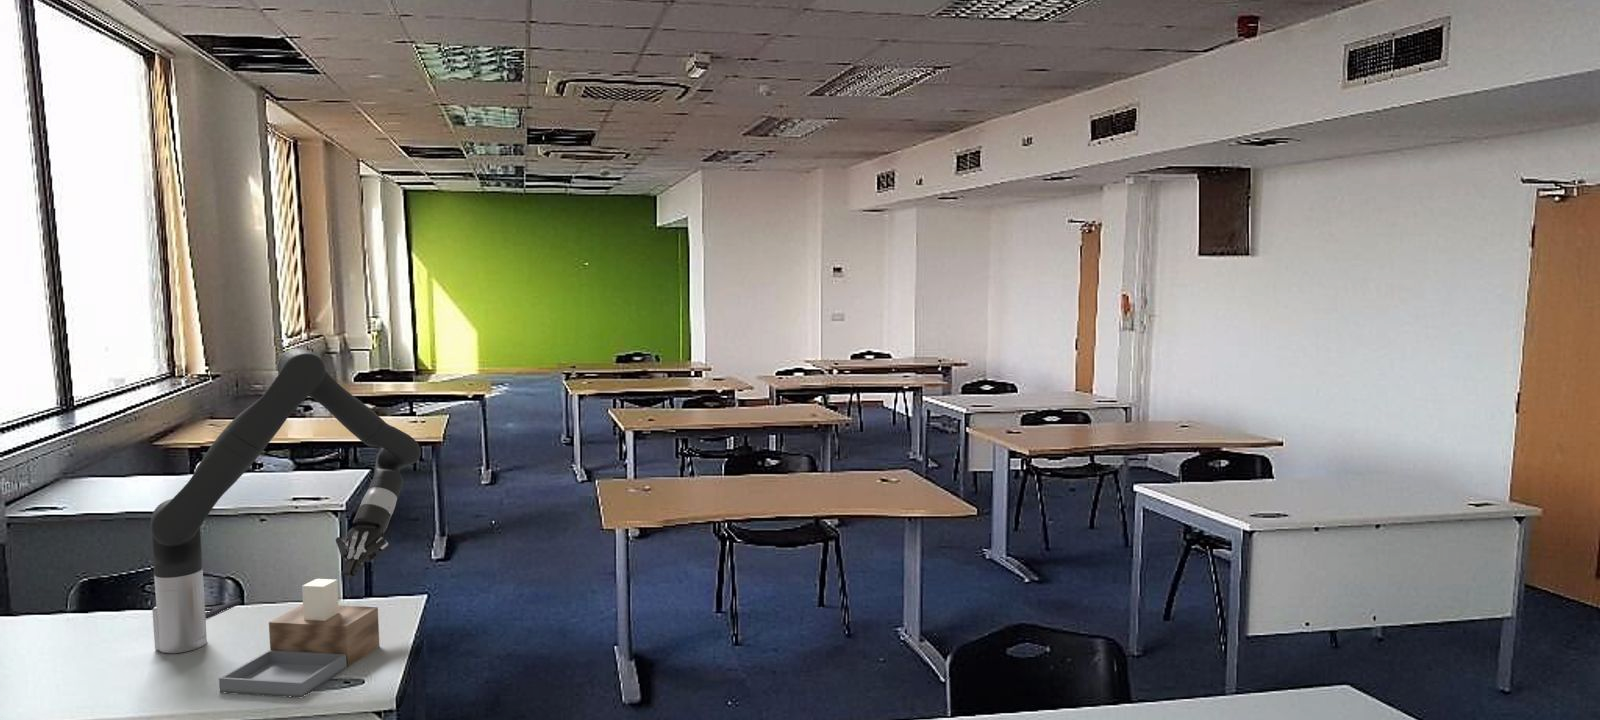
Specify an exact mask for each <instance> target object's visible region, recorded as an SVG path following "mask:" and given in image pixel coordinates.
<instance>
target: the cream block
mask: <svg viewBox="0 0 1600 720" xmlns="http://www.w3.org/2000/svg"><path fill="white" fill-rule="evenodd" d="M338 586H339V585H338V579H335V578H334V579H330V578H315V579H313V580H310V581H309V582H306V583H304V584H302V585H301V590H302V605H303V613H304V620H321V621H326V620H327V619H329V618H331V617H333V616H334V615H336V614H338V613H339V589H338V588H339V587H338Z"/></svg>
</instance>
